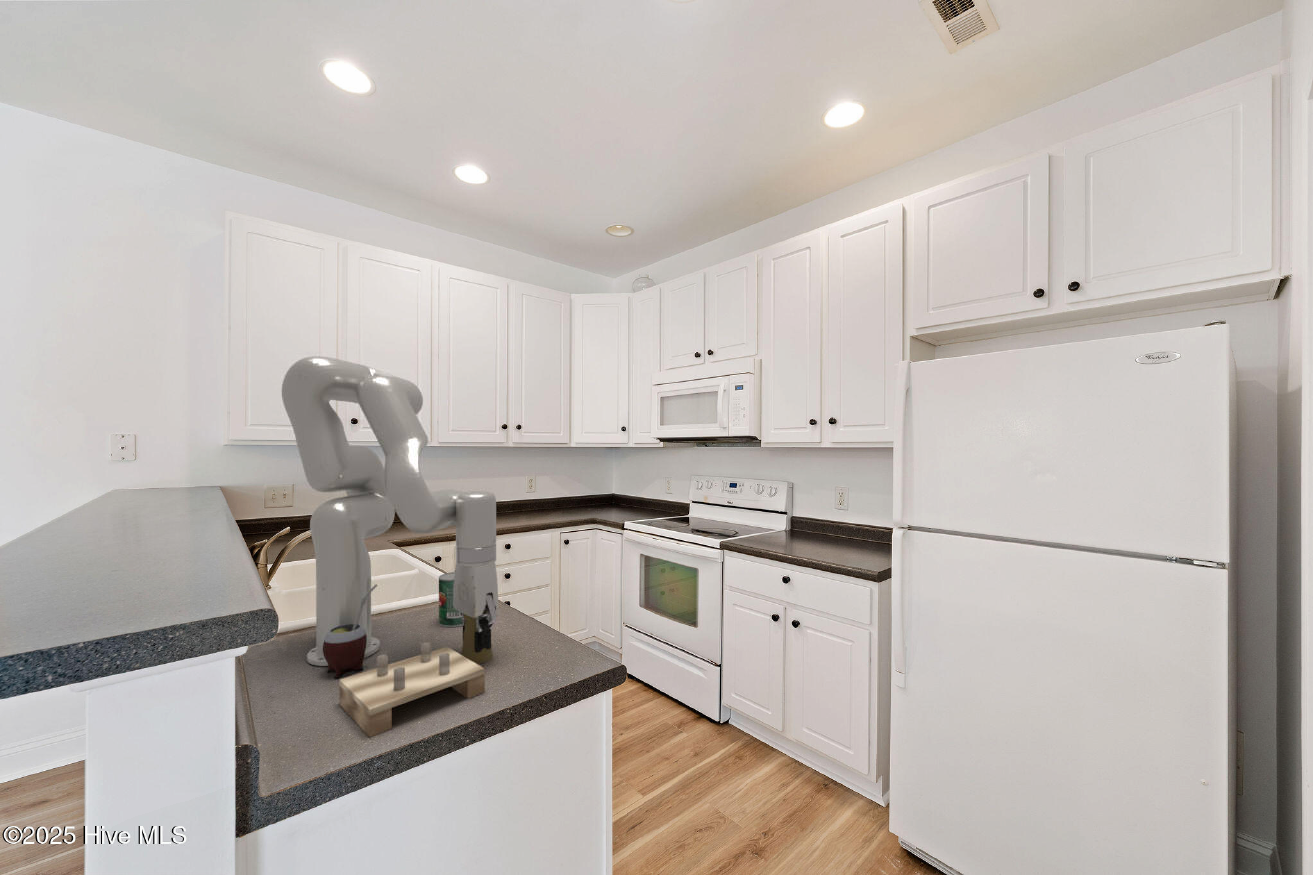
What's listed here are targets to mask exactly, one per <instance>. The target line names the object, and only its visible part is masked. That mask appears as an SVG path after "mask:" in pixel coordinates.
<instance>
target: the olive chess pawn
mask: <svg viewBox="0 0 1313 875" xmlns="http://www.w3.org/2000/svg"><path fill="white" fill-rule="evenodd" d="M485 613H487V611H486V610H485V611H483V614H485ZM463 617H464V619H465V620H466V623H465V630H464V638H463V637H462V647H461V653H460V655H462V656H464V657H466V658H467V659H469V660H471V661H472V662H474V663H476V664H478V665H480V664H483V663H486V662H489V661H490V660H492V658H494V657H493V656H494V653H493V647H492V645H491V648H490V649H488V650H486V648H484V649H482V650H481V652H479V653H476V652H475V632H476V631H477V629H476V618H472V617H470V616H468V615H466V614H464V613H463ZM484 619H486V617H483V618H481V623H482V622H483V620H484Z"/></svg>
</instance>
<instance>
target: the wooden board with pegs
mask: <svg viewBox="0 0 1313 875" xmlns="http://www.w3.org/2000/svg"><path fill="white" fill-rule="evenodd" d="M485 672H486V671H485V668H484V667H482V666H481V665H480V664H476V663H474V662H472V661H471V660H469V659H467V658H466V657H464V656H462V655H461V653H459V652H457V651H455V650H454V649H452V648H450V647H448V646H445V647H441V648H438V649H436V650H432V643H431V642H429V641H427V642H423V643H421V644H420V654H418V655H415V656H412V657H409V658H406V659H403V660H399V661H396V662H392V663H390V664H389V656H388V654H381V655H378V656H376V668H373V669H369V670H366V671H362V672H358V673H356V674H352V675H351V676H347V677H344V678H339V679H338V680H339V681H338V682H339V684H338V686H339V690H338V691H339V693H338V694H339V696H338V697H339V702H338V703H339V705H340V707H341V708H342V709H343V710H345V712H346V713H347V714H348V715H349V716H350V717H351V718H352V719H353V721H354V722H356V724H357V725H358V726H359V727H360V728H361V729H362V731H364V733H365V734H366V735H367V736H368V737H369V738H373V737H374V736H376V735H378V734H382V733H384V732H387V731H389V730H391V729H392V728H393V727H392V725H393V724H392V721H393V720H392V712H393V711H392V708H395V707H397V706H401V705H402V704H407V703H408V702H411V701H414V700H417V699H419V698H422V697H425V696H428V695H430V694H434V693H436V692H439V691H442V690H445V689H447V688H450V687H451V688H452V689H454V690H455V691H456V692H457V693H459V694H461V695H462V696H463V697H465V699H470V698H473V697H476V696H478V695H480V694H484V693H485V691H486V690H485V688H486V687H485V686H486V685H485V682H486V681H485V677H486V676H485V675H486V674H485Z"/></svg>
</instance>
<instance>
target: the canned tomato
mask: <svg viewBox="0 0 1313 875" xmlns="http://www.w3.org/2000/svg"><path fill="white" fill-rule="evenodd" d="M454 573H455V571H452V572H446V573H443V574H441V575H439V576H438V625H439V627H442V626H443V628H456V627H458V626H459V627H463V626H464V625H462V622H461V620H462V615H461V613H460V612H459V611H457V610H456V609H455V608H454V607H453V586H454Z"/></svg>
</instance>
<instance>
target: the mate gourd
mask: <svg viewBox="0 0 1313 875" xmlns="http://www.w3.org/2000/svg"><path fill="white" fill-rule="evenodd" d="M377 587H378V584H374V585H373V586H371V589H370V590H369V591H368V592H367V593H366V595H365V596H364V597H363V598H362V600H361V603H360V604H361V605H360V608H359V611H358V614H357V617H356V620H355V623H354V624H346V625H341V626H337V627H335V628H332V629H331V630H330V631H329V632H328V633H327V635H326V637H325V639H324V644H323V655H324V658H325V660H326V661H327V663H328V666H327V667H328V669H327V670H326V671H327V674H335V673H336V674H335V675H334V680H339V679H341V677H343V676H344V675H346V673H357V672H358V673H362V672H364V667H363V664H364V661H365V658H364V656H365V650H366V643H367V636H366V631H365V630H364V628H363V627H362V626H360V625H359V624H358V621H359V618H360V615H361V612H362V609H363V606H364V604H365V602H366V598H367V597H368V595H369V594H370V593H371V594H372V592H373V591H374V590H375V589H376V588H377Z"/></svg>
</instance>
